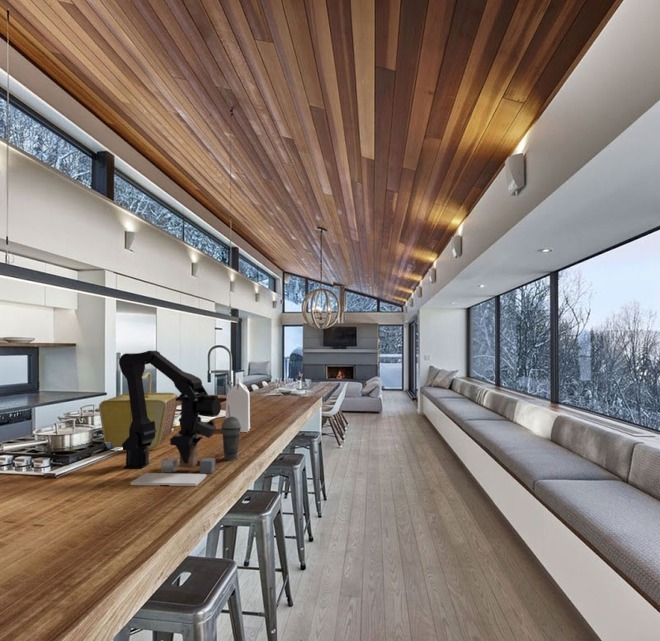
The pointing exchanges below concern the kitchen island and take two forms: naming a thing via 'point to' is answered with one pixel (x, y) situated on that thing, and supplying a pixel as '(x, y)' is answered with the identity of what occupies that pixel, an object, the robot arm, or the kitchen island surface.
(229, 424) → the beverage cup
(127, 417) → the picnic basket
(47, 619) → the kitchen island surface
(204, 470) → the charcoal block
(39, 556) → the kitchen island surface
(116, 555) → the kitchen island surface
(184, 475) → the cream tile
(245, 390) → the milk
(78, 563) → the kitchen island surface
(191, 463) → the walnut block
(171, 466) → the grey metal block
